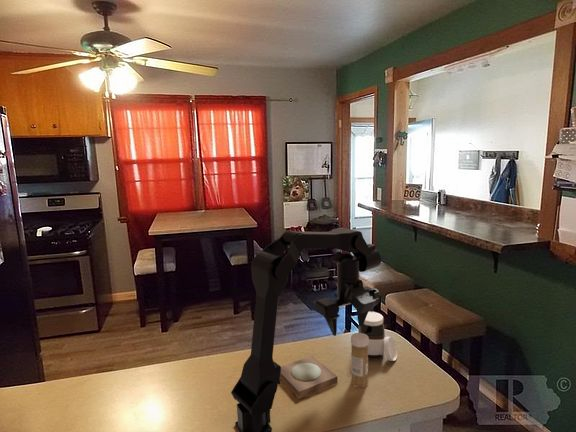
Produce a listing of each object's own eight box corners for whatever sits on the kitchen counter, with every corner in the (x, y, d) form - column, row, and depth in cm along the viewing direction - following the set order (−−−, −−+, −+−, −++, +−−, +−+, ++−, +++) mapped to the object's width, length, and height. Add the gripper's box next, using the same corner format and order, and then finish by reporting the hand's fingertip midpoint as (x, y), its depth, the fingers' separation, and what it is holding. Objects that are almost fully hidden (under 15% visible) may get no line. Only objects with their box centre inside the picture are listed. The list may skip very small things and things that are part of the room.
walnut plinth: (299, 398, 94) (299, 390, 93) (276, 374, 104) (276, 367, 104) (337, 383, 100) (337, 375, 99) (312, 361, 110) (312, 354, 110)
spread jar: (356, 343, 120) (357, 309, 118) (392, 344, 119) (393, 309, 117) (360, 364, 108) (360, 327, 106) (400, 365, 107) (401, 328, 105)
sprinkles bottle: (371, 384, 99) (372, 337, 97) (359, 390, 97) (359, 342, 94) (359, 375, 103) (359, 330, 100) (347, 381, 100) (347, 335, 98)
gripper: (339, 292, 87) (339, 354, 90) (396, 277, 96) (394, 333, 99) (312, 279, 97) (312, 335, 99) (366, 266, 106) (365, 317, 109)
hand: (347, 330), depth 101 cm, fingers open, 9 cm apart
